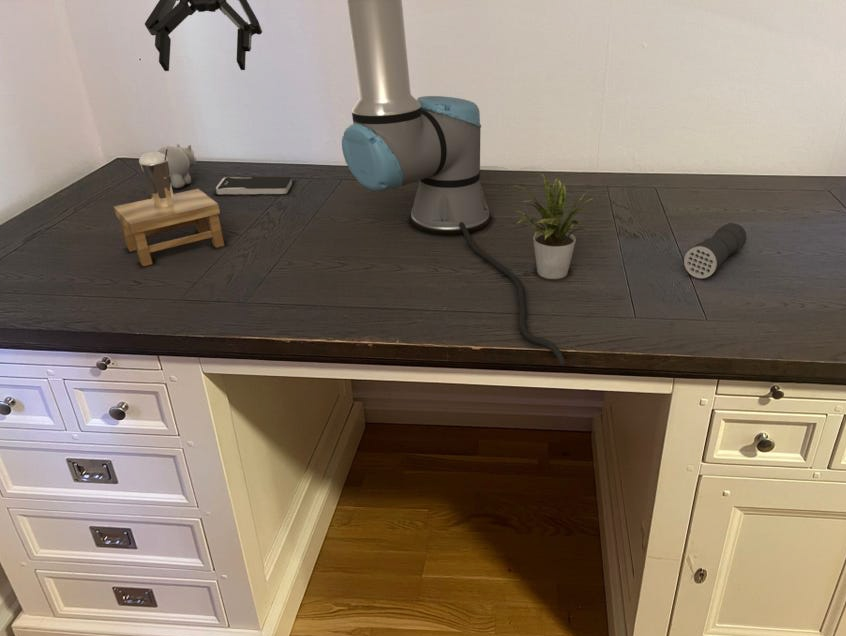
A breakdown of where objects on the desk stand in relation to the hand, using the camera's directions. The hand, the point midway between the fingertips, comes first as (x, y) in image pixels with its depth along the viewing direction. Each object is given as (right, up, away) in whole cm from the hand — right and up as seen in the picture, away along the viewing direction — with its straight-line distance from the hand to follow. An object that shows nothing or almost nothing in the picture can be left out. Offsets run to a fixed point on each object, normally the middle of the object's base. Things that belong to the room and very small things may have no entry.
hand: (202, 66), depth 128 cm
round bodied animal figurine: (-17, -13, +31) cm, 38 cm away
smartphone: (+1, -15, +28) cm, 32 cm away
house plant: (+61, -37, -6) cm, 72 cm away
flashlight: (+91, -36, -4) cm, 98 cm away
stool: (-5, -32, +1) cm, 33 cm away
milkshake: (-5, -26, -3) cm, 26 cm away
